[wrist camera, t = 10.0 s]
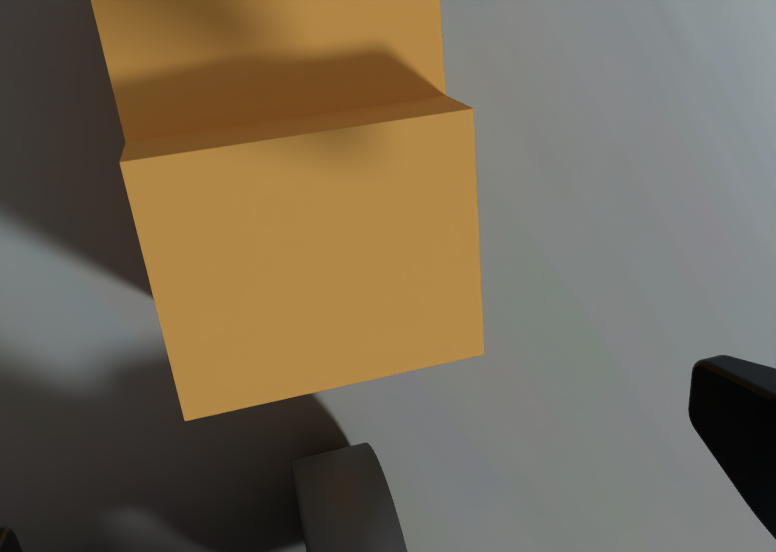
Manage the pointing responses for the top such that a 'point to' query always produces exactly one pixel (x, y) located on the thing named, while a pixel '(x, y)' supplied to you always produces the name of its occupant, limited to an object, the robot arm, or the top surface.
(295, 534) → the top surface
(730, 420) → the robot arm
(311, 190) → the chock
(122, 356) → the top surface
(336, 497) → the trolley
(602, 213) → the top surface
